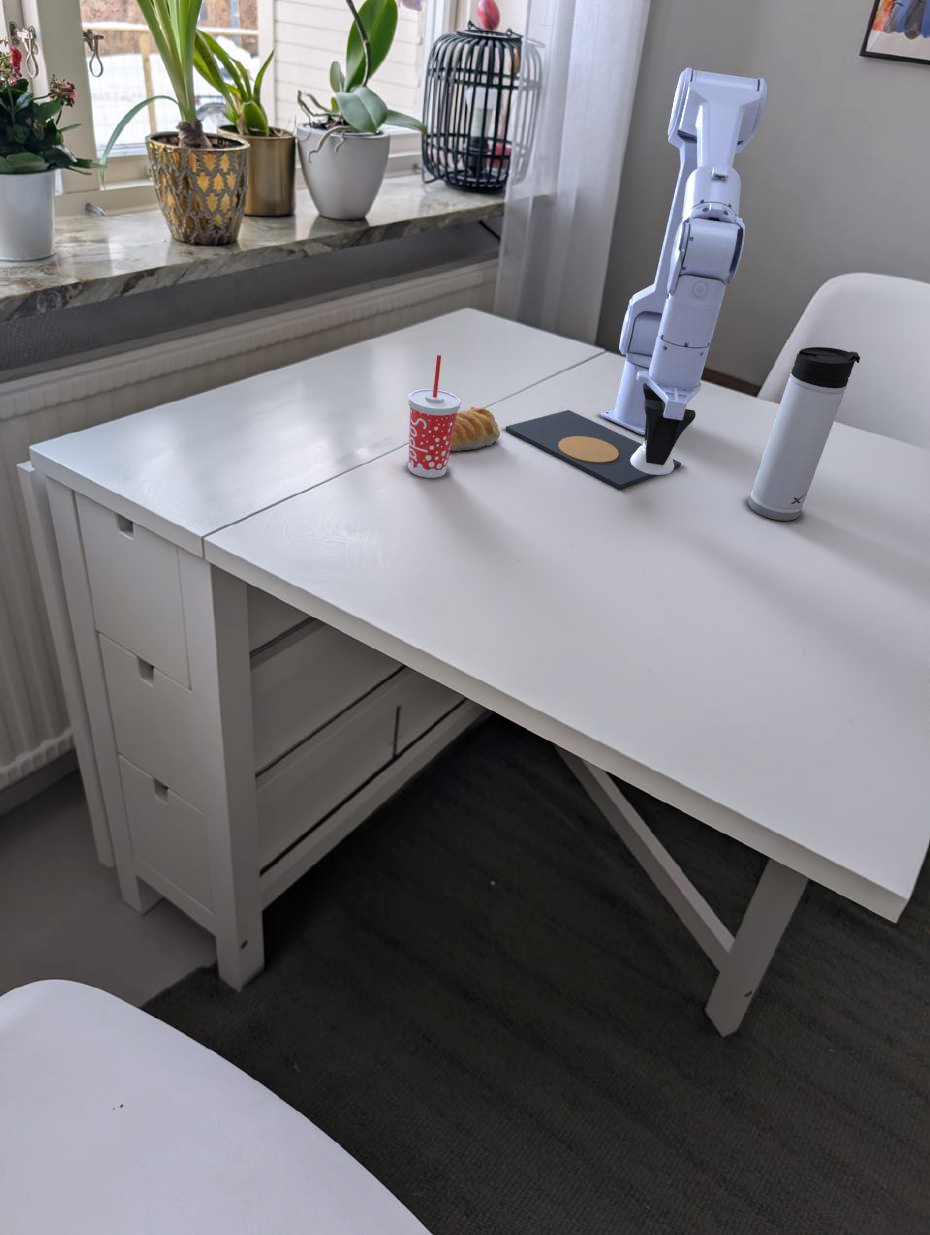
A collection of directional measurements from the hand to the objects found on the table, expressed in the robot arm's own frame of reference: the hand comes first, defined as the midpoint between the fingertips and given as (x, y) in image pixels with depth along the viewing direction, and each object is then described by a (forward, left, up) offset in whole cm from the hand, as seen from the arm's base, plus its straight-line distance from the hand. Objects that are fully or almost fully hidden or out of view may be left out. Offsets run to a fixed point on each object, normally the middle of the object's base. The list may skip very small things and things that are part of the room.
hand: (654, 455), depth 104 cm
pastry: (+7, -24, -6) cm, 26 cm away
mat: (-7, -14, -6) cm, 17 cm away
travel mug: (-14, +10, -6) cm, 18 cm away
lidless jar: (0, 0, -2) cm, 2 cm away
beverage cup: (+17, -20, -6) cm, 27 cm away
